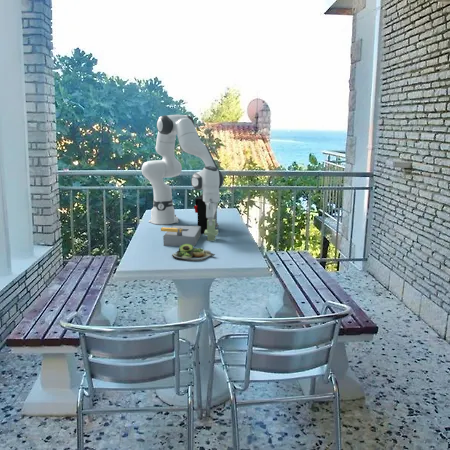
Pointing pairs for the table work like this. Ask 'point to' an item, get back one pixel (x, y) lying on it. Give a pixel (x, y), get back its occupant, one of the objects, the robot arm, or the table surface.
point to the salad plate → (191, 253)
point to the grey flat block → (183, 236)
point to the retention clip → (173, 230)
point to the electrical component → (203, 214)
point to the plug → (211, 231)
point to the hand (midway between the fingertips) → (211, 223)
